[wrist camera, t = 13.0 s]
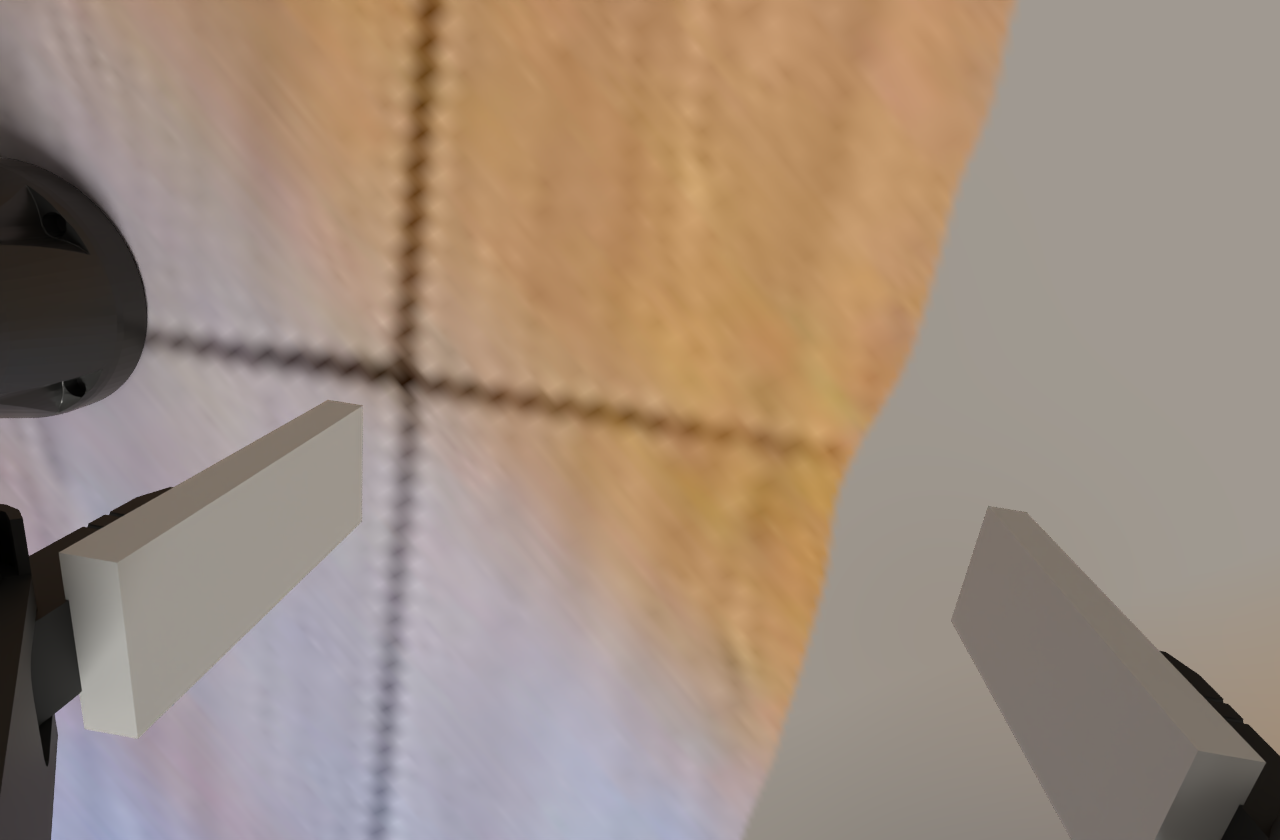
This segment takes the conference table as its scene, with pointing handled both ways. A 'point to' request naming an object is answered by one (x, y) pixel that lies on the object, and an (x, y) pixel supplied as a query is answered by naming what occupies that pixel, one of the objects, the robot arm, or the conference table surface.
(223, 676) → the conference table surface
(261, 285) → the conference table surface
